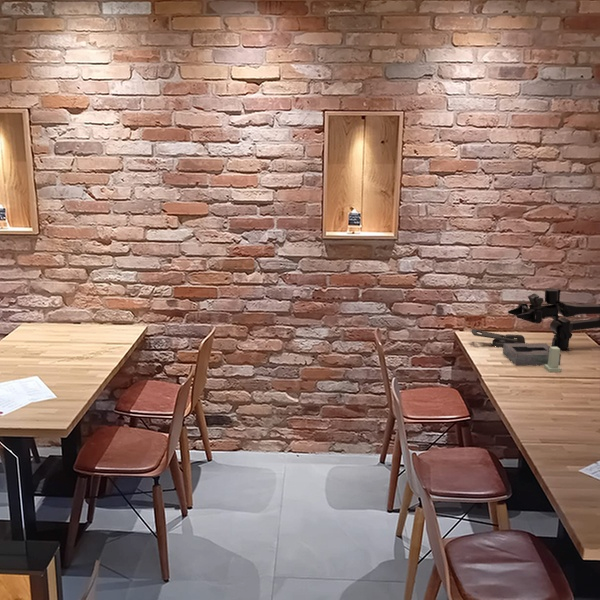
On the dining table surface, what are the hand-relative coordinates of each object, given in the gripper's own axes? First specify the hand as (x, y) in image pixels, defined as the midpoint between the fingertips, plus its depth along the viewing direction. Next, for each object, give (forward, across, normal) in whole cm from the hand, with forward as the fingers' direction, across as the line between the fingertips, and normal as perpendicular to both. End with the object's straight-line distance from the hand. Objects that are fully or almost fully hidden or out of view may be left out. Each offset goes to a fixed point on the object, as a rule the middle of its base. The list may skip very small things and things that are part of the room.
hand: (512, 314), depth 331 cm
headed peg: (-7, +26, +20) cm, 33 cm away
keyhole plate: (-3, +12, +18) cm, 22 cm away
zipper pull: (+4, -8, +17) cm, 19 cm away
